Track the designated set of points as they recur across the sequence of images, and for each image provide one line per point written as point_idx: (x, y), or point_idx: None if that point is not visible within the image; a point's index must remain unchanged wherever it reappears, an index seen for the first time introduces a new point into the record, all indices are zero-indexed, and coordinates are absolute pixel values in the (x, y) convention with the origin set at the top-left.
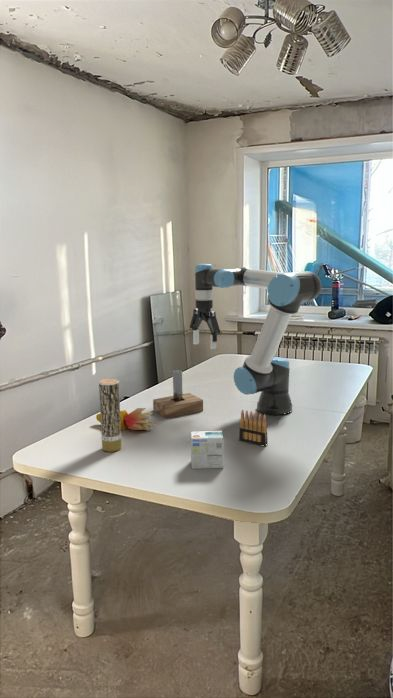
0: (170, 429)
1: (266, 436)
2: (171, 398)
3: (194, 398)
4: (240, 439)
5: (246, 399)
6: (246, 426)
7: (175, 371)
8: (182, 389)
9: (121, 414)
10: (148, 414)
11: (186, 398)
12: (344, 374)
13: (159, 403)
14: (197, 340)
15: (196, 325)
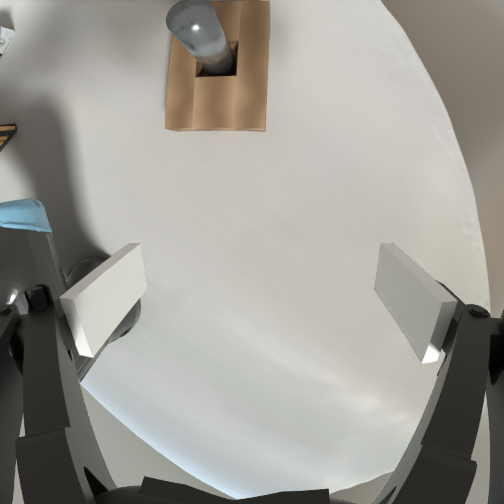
0: (118, 12)
1: None
2: (241, 46)
3: (193, 110)
4: (11, 125)
5: (200, 298)
6: None
7: (194, 8)
8: (198, 60)
9: None
10: None
11: (209, 86)
12: (241, 485)
13: (220, 1)
14: (386, 287)
15: (445, 368)
